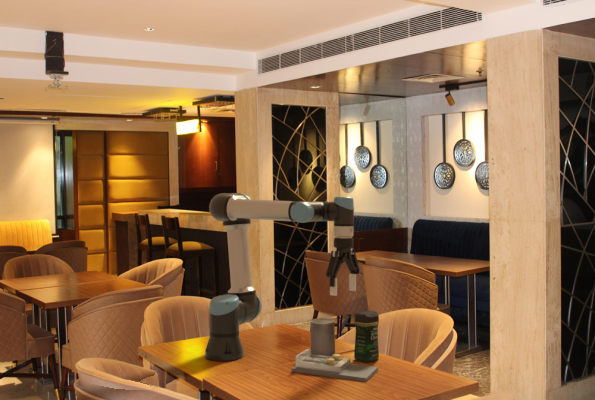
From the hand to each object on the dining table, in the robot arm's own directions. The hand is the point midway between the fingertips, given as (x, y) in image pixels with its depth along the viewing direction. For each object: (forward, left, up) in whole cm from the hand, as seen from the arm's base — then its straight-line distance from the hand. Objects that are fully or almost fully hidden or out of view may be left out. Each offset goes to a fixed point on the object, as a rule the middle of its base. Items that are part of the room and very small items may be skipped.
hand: (343, 293), depth 219 cm
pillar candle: (-11, +6, -26) cm, 29 cm away
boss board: (+1, -12, -26) cm, 29 cm away
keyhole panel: (-3, -12, -25) cm, 28 cm away
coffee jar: (+7, +7, -26) cm, 28 cm away
